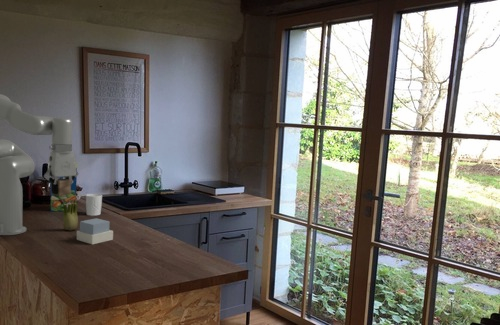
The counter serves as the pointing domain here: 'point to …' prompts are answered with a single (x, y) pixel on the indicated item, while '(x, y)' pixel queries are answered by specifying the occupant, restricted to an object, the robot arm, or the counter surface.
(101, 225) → the grey block
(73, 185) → the blue food package
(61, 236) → the counter surface
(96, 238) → the cream block
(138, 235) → the counter surface
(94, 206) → the white cup
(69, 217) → the fennel bulb
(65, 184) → the walnut block
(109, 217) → the counter surface
